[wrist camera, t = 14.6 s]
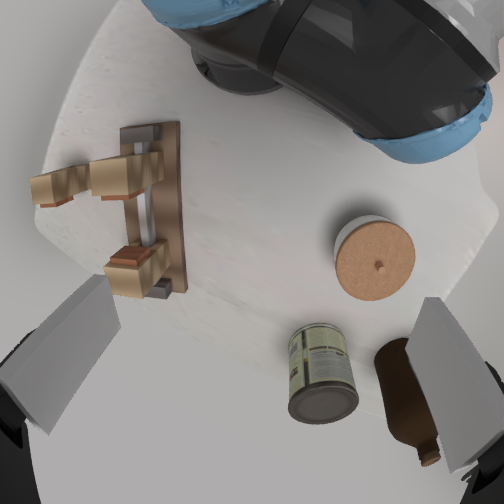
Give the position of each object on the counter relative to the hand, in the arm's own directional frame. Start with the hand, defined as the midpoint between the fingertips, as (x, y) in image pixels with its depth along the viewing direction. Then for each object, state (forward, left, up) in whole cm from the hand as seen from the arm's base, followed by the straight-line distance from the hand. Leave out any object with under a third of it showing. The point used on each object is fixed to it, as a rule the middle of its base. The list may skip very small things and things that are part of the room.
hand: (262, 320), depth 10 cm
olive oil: (+30, +26, -29) cm, 49 cm away
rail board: (+4, -18, -29) cm, 34 cm away
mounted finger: (-3, -18, -27) cm, 33 cm away
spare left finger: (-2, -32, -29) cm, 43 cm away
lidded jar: (+7, +13, -29) cm, 32 cm away
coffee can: (+27, +9, -29) cm, 41 cm away
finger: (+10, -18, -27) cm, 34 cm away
